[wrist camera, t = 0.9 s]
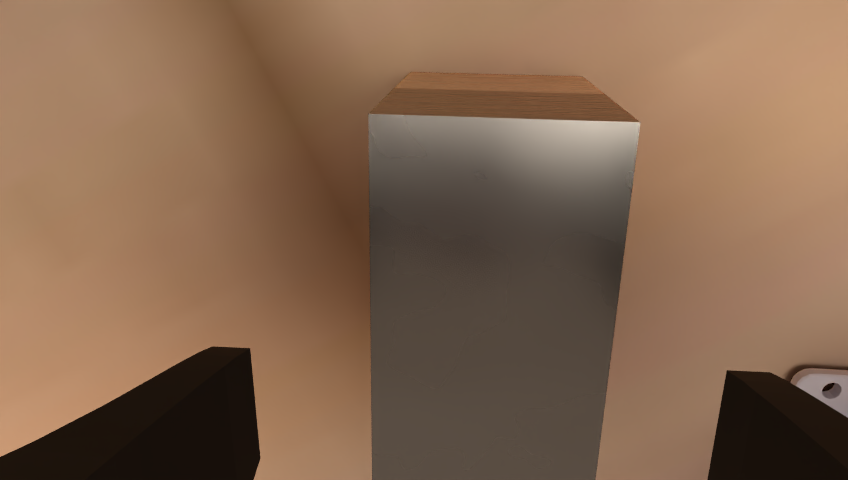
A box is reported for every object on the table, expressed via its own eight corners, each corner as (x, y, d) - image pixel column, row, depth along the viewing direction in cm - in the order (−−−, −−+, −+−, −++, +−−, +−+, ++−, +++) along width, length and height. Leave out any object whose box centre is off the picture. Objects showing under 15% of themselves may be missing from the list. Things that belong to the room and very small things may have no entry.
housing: (582, 76, 18) (640, 122, 11) (556, 347, 20) (590, 514, 14) (410, 71, 18) (368, 113, 11) (407, 339, 21) (372, 498, 14)
